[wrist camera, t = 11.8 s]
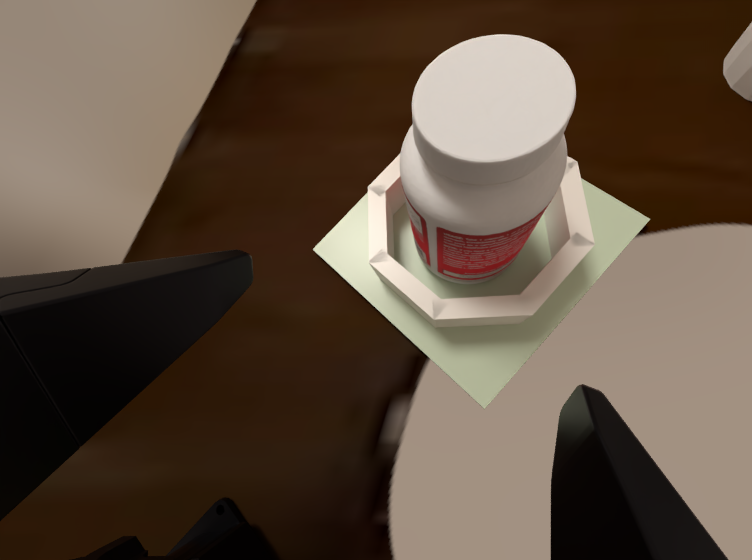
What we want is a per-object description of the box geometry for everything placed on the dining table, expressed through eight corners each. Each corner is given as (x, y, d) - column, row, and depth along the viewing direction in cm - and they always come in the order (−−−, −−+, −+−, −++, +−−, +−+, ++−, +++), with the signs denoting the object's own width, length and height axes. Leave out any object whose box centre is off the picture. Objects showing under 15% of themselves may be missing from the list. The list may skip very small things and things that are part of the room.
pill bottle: (541, 229, 20) (657, 63, 9) (475, 308, 19) (515, 229, 9) (456, 175, 22) (471, -13, 11) (394, 245, 21) (347, 118, 11)
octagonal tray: (483, 407, 18) (492, 416, 15) (316, 252, 23) (293, 231, 19) (644, 223, 19) (687, 191, 16) (453, 109, 24) (455, 64, 20)
